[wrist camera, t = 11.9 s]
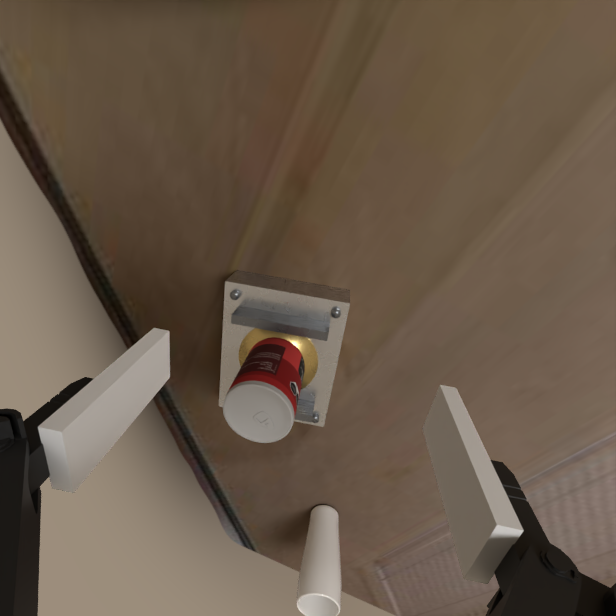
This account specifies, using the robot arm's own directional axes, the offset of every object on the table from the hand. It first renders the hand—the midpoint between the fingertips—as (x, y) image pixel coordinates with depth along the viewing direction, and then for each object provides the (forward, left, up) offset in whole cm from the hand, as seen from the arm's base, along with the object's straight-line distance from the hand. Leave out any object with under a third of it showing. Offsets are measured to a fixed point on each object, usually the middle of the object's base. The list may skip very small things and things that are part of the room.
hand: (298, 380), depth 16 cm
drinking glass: (+50, +8, -31) cm, 60 cm away
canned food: (+16, -4, -25) cm, 30 cm away
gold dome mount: (+15, -4, -31) cm, 34 cm away
